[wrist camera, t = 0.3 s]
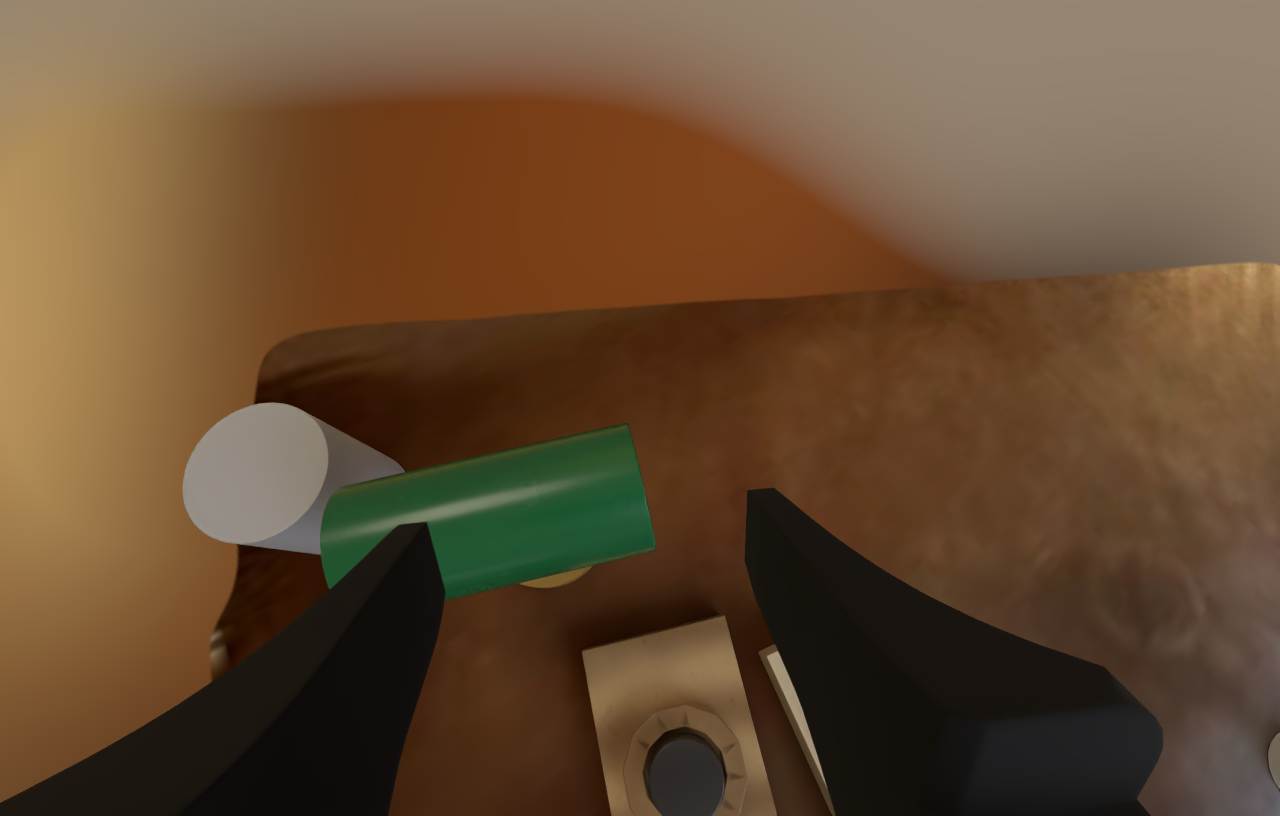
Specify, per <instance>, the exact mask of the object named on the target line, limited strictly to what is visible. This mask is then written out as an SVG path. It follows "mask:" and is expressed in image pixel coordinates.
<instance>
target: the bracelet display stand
mask: <svg viewBox="0 0 1280 816" xmlns="http://www.w3.org/2000/svg"><path fill="white" fill-rule="evenodd" d="M419 522H427V524H428V528H429V531H430V535H431V539H432V543H433V546H434V550H435V554H436V557H437V561H438V565H439V569H440V572H441V576H442V580H443V584H444V587H445V591H446V594H445V600H444V601H448V600H452V599H456V598H460V597H464V596H468V595H473V594H477V593H481V592H485V591H489V590H494V589H498V588H502V587H506V586H510V585H514V584H519V583H520V584H522V585H525V586H529V587H536V588H554V587H560V586H563V585H566V584H569V583H571V582H573V581H575V580H577V579H578V578H580V577H581V576H583V575H584V574H585V573H586V572H587V571H589V569H590V568H591V567H592V566H594V565H598V564H602V563H606V562H611V561H615V560H619V559H623V558H627V557H631V556H636V555H640V554H644V553H648V552H652V551H655V550H656V544H655V538H654V532H653V527H652V522H651V517H650V512H649V508H648V503H647V499H646V494H645V490H644V485H643V481H642V476H641V472H640V468H639V464H638V460H637V456H636V452H635V448H634V444H633V440H632V436H631V433H630V429H629V426H628V424H627V423H623V424H619V425H614V426H610V427H605V428H601V429H596V430H592V431H587V432H583V433H578V434H574V435H569V436H565V437H561V438H556V439H552V440H547V441H543V442H538V443H534V444H529V445H525V446H520V447H516V448H511V449H507V450H502V451H498V452H494V453H489V454H485V455H480V456H476V457H471V458H467V459H462V460H458V461H453V462H449V463H444V464H440V465H435V466H431V467H427V468H422V469H418V470H413V471H409V472H404V473H400V474H395V475H391V476H386V477H382V478H377V479H373V480H368V481H364V482H360V483H355V484H351V485H346V486H342V487H340V488H339V489H337V490H336V491H335V492H334V493H333V494H332V495H331V497H330V498H329V500H328V502H327V504H326V507H325V509H324V513H323V517H322V522H321V531H320V549H321V559H322V565H323V570H324V574H325V578H326V581H327V584H328V587H329V589H331V588H332V587H333V586H334V585H335V584H336V583H337V582H339V581H340V580H341V579H342V578H343V577H344V576H345V575H346V574H347V573H348V572H349V571H350V570H351V569H352V568H353V567H354V566H355V565H357V564H358V563H359V562H360V561H361V560H362V559H363V558H364V557H365V556H366V555H367V554H368V553H369V552H370V551H371V550H372V549H373V548H374V547H375V546H376V545H377V544H378V543H379V542H380V541H381V540H382V539H383V538H385V537H386V536H387V535H388V534H389V533H390V532H391V531H392V530H393V529H394V528H395V527H397V526H398V525H399V524H409V523H419Z"/></svg>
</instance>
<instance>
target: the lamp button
mask: <svg viewBox="0 0 1280 816" xmlns="http://www.w3.org/2000/svg"><path fill="white" fill-rule="evenodd" d="M724 786H725V781H724V773H723V769H722V766H721V764H720V761H719V759H718V757H717V755H716V753H715V751H714V749H713V748H712V747H711V745H710V744H709V743H708V742H707V741H706V740H705V739H703V738H702V737H700V736H698V735H696V734H693V733H689V732H679V733H675V734H672V735H670V736H668V737H666V738H665V739H663V740H662V741H661V742H660V743H659V744H658V746H657V747H656V748H655V750H654V752H653V754H652V756H651V759H650V764H649V791H650V795H651V798H652V801H653V803H654V805H655V807H656V808H657V810H658V811H659V812H660V813H661V815H662V816H713V815H714V813H715V812H716V811H717V809H718V807H719V806H720V803H721V801H722V798H723V794H724Z"/></svg>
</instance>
